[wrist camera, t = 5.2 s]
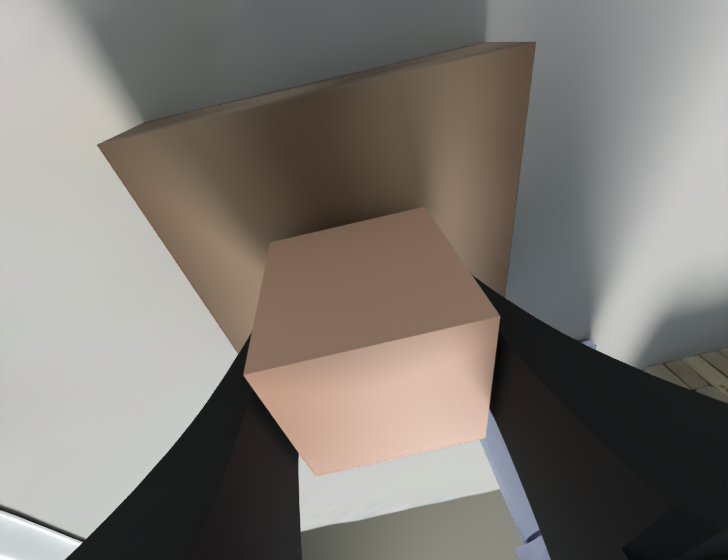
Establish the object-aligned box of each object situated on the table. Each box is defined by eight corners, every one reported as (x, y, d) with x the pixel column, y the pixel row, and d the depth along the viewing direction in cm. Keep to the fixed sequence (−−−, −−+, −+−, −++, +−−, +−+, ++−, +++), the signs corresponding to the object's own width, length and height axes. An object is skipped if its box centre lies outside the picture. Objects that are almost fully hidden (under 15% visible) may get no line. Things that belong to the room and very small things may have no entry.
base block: (486, 42, 11) (535, 41, 8) (474, 300, 18) (499, 339, 16) (144, 122, 11) (97, 144, 8) (270, 347, 18) (264, 393, 16)
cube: (424, 206, 10) (500, 315, 6) (432, 317, 13) (485, 438, 9) (269, 242, 10) (242, 375, 6) (314, 344, 13) (315, 476, 9)
